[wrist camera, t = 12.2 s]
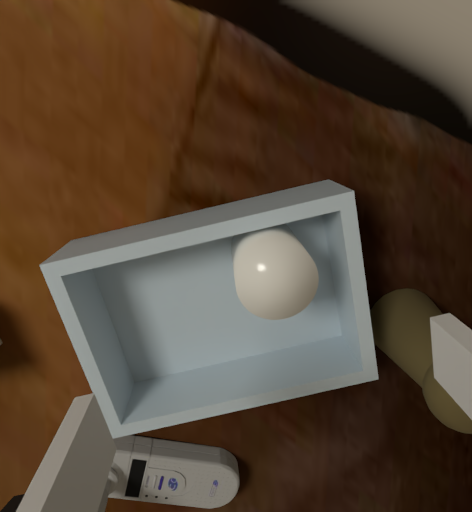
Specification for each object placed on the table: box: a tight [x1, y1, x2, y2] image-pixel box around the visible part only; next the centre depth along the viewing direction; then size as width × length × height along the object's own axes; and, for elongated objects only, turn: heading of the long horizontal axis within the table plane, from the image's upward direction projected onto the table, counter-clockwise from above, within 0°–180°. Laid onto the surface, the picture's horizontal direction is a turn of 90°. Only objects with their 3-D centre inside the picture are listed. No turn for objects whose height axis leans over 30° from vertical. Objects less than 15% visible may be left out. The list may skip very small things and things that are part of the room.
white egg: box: [231, 223, 319, 320], centre depth 26 cm, size 5×5×7 cm
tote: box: [39, 179, 379, 439], centre depth 29 cm, size 20×14×6 cm
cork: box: [370, 288, 472, 434], centre depth 28 cm, size 6×6×11 cm
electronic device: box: [98, 435, 240, 512], centre depth 32 cm, size 5×10×15 cm
